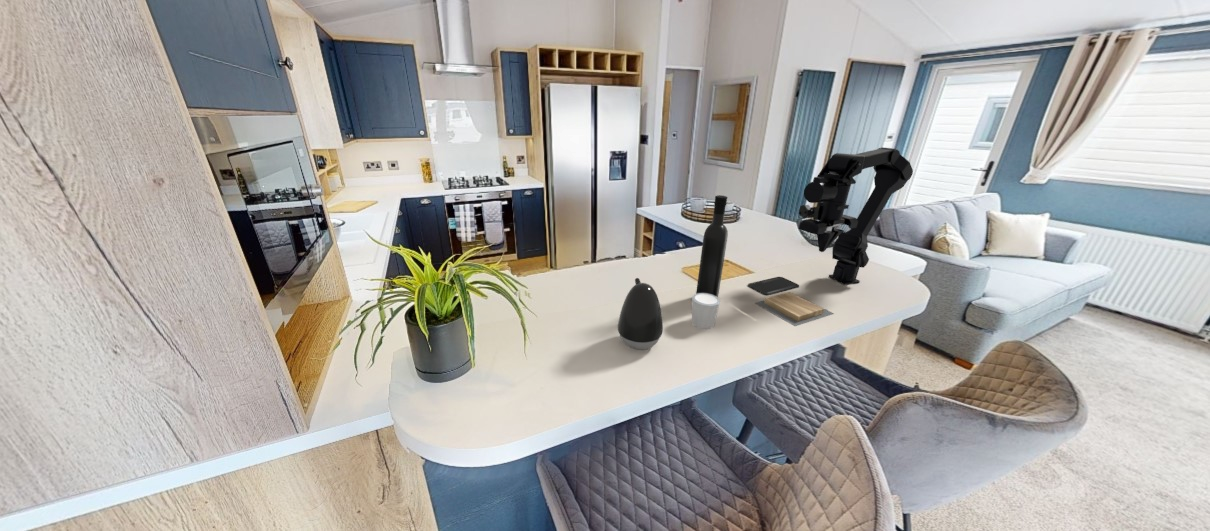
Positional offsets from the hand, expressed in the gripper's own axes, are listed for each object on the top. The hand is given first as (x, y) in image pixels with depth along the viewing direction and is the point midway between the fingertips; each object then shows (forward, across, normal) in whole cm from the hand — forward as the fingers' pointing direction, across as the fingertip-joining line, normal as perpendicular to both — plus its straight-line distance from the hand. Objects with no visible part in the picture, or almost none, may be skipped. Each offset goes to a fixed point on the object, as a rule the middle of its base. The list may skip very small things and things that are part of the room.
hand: (821, 251), depth 115 cm
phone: (+13, +11, -5) cm, 18 cm away
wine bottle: (+12, +36, -7) cm, 39 cm away
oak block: (+11, +13, +7) cm, 18 cm away
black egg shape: (+12, +65, +4) cm, 66 cm away
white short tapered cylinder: (+12, +46, +3) cm, 47 cm away
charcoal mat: (+12, +18, +7) cm, 22 cm away
